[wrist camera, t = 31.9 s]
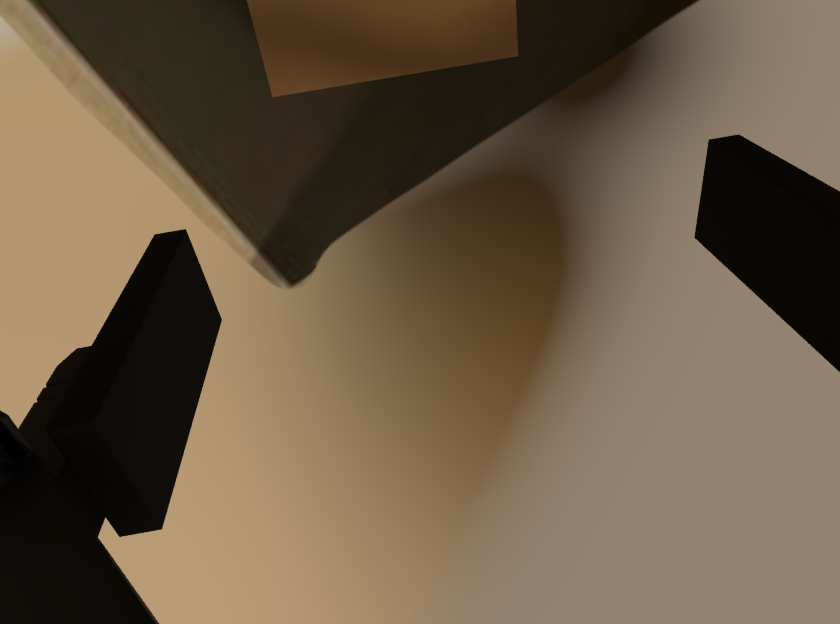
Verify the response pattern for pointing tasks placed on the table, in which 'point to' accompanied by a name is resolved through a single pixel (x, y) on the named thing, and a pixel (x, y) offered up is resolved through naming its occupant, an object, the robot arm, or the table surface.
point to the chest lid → (376, 38)
